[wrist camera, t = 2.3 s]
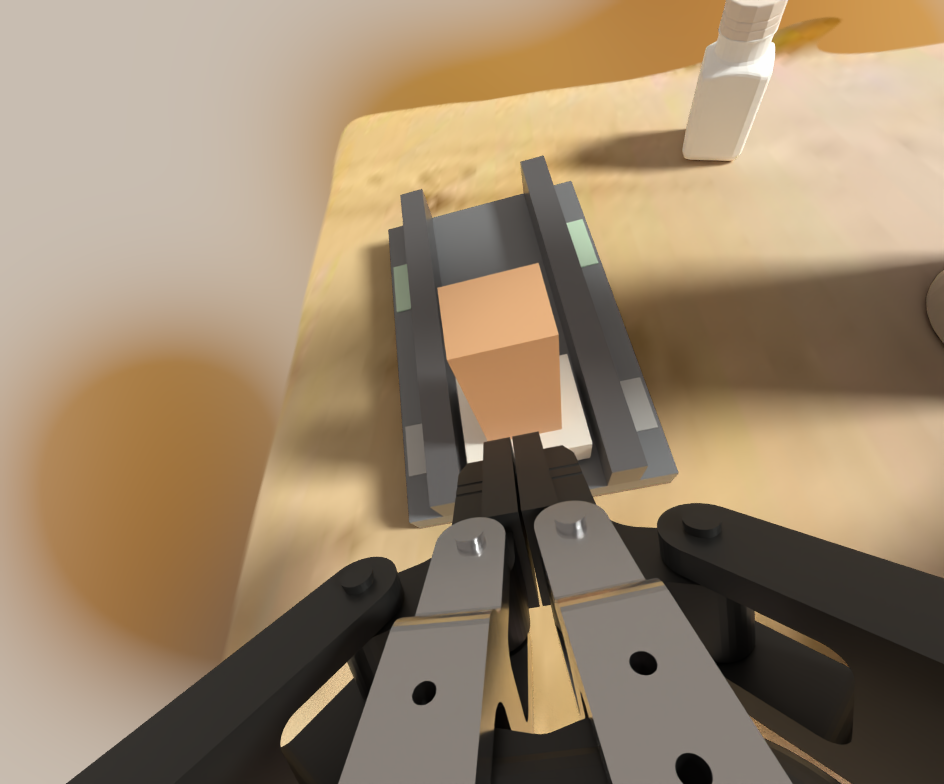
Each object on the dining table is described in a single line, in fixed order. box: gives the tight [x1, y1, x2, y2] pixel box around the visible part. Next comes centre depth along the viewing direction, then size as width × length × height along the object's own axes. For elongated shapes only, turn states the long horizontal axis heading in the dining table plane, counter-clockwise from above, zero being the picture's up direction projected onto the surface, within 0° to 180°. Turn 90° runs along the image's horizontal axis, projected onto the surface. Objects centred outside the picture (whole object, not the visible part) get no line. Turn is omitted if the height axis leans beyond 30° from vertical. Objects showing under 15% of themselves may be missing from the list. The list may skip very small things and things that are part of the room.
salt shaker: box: [682, 0, 788, 161], centre depth 29 cm, size 4×4×10 cm
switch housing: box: [388, 156, 678, 528], centre depth 27 cm, size 22×14×5 cm, turn 8°
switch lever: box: [437, 263, 592, 463], centre depth 19 cm, size 5×6×11 cm
